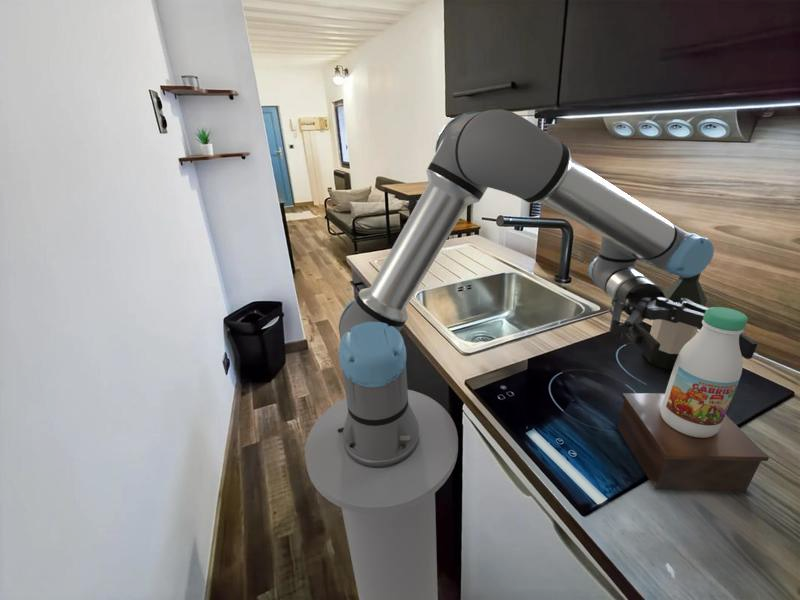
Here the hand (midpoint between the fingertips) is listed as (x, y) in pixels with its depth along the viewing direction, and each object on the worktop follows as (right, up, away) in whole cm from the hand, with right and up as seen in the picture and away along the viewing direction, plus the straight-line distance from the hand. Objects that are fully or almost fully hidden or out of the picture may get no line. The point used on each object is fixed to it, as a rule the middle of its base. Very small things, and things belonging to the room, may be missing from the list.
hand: (703, 351), depth 55 cm
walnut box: (+1, -19, +7) cm, 21 cm away
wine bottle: (+17, -7, +32) cm, 37 cm away
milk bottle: (+1, -12, +4) cm, 13 cm away
